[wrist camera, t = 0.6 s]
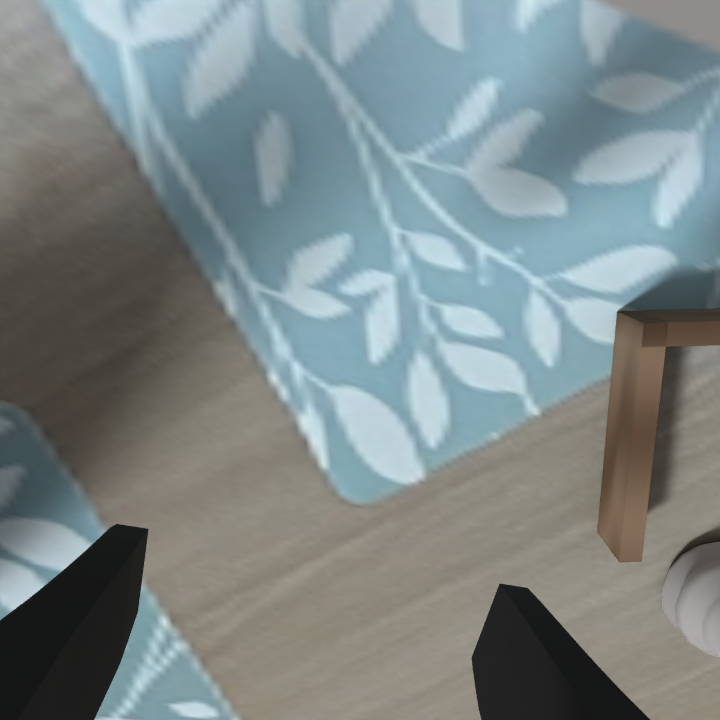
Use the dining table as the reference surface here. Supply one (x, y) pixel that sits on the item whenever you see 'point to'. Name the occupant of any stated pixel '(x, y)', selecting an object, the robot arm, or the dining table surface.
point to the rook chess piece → (695, 596)
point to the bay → (640, 416)
